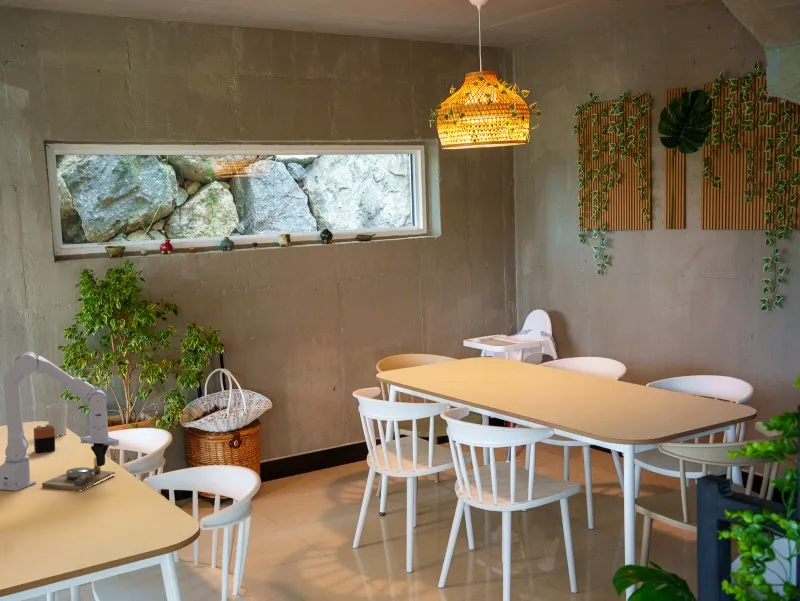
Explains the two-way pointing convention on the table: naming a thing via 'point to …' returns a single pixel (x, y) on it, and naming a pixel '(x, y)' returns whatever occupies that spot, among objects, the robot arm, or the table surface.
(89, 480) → the board
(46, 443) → the battery
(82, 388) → the robot arm
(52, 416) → the cup
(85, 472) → the cam
